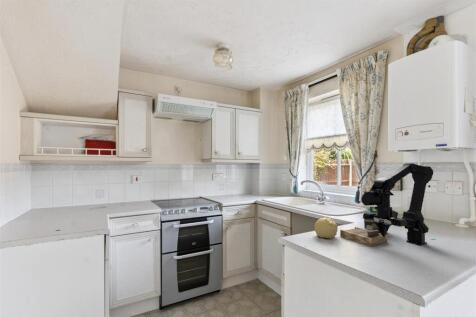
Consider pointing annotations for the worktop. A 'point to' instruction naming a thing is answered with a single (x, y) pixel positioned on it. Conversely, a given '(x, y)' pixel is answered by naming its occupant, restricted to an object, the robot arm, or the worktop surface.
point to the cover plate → (365, 232)
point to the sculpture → (326, 228)
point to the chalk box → (370, 221)
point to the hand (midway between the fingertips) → (383, 236)
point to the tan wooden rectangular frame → (364, 238)
